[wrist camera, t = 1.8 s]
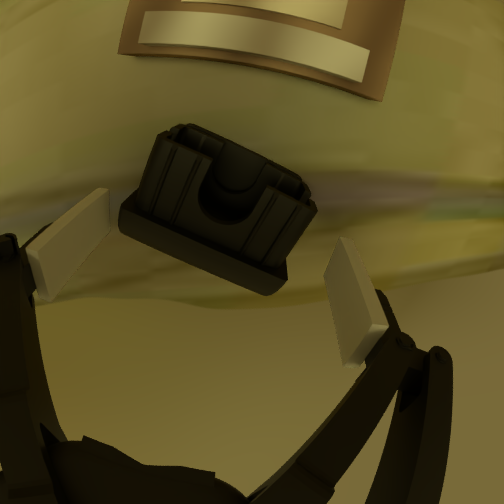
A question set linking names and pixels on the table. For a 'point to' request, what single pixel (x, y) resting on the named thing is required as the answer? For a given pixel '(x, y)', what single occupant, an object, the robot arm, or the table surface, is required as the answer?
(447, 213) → the table surface
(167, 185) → the black notched block
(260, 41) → the display riser
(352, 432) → the robot arm
